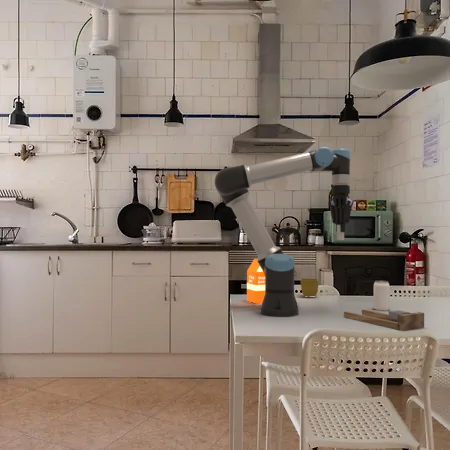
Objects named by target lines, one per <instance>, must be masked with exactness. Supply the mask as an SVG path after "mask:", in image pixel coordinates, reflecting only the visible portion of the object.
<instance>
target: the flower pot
mask: <svg viewBox="0 0 450 450" xmlns="http://www.w3.org/2000/svg"><path fill="white" fill-rule="evenodd" d="M299 279H300V289H301V293H302V295H303V297H304V296H315V297H316V296H317V294H318V289H319V281H320V280H319V279H318V278H299Z"/></svg>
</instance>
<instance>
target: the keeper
mask: <svg viewBox="0 0 450 450" xmlns="http://www.w3.org/2000/svg"><path fill="white" fill-rule="evenodd" d="M408 313H411V312H409V311H403V310H397V309H396V310H388V314H389V321H393V322H397V315H400V314H408Z"/></svg>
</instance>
